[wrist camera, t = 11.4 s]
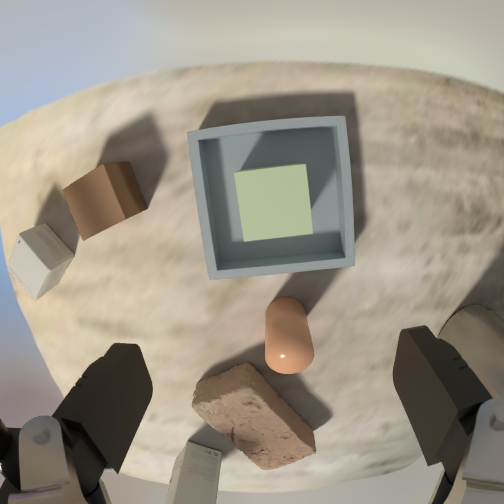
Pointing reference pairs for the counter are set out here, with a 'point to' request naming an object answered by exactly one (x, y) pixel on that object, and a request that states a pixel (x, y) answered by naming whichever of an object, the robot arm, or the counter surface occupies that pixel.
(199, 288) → the counter surface
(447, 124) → the counter surface
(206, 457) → the skincare box
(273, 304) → the peach capsule
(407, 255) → the counter surface
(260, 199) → the green block
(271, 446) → the brick
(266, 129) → the tray
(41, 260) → the small box
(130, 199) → the walnut cube
